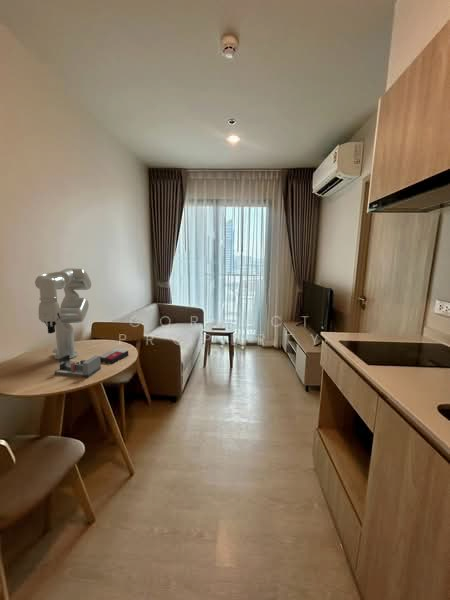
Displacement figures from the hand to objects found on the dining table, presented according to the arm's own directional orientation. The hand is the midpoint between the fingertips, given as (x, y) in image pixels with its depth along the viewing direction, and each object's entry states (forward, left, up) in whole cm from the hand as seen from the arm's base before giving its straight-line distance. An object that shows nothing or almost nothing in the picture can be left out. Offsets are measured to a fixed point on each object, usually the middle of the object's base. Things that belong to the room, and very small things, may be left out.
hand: (51, 332), depth 144 cm
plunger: (+10, -1, -20) cm, 22 cm away
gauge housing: (+15, 0, -22) cm, 26 cm away
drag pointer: (+16, -5, -19) cm, 25 cm away
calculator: (+23, +21, -22) cm, 39 cm away
